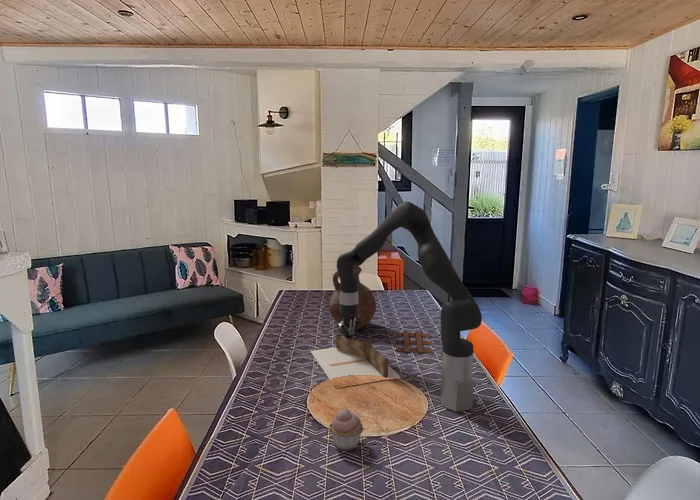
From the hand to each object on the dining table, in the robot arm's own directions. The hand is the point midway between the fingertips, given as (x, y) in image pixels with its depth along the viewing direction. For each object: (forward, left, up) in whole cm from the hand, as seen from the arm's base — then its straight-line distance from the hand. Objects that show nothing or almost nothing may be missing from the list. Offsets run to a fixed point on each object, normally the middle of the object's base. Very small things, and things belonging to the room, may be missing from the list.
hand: (349, 342), depth 182 cm
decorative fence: (-2, -28, -4) cm, 29 cm away
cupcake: (-60, +22, -3) cm, 64 cm away
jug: (+25, -11, -3) cm, 27 cm away
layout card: (-13, +3, -3) cm, 14 cm away
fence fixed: (-20, -4, -3) cm, 20 cm away
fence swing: (-4, +1, -2) cm, 5 cm away
